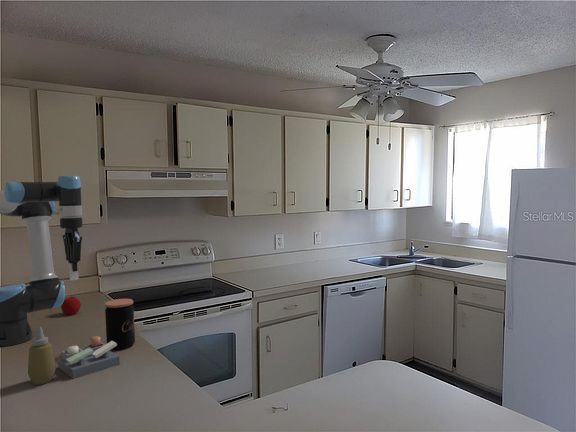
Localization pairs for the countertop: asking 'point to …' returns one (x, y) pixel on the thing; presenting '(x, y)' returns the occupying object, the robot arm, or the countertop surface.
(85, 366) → the panel
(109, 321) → the coffee jar
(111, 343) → the block
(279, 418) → the countertop surface
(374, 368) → the countertop surface
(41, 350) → the squeeze bottle
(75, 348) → the ivory button
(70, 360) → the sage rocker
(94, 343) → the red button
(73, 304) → the apple
